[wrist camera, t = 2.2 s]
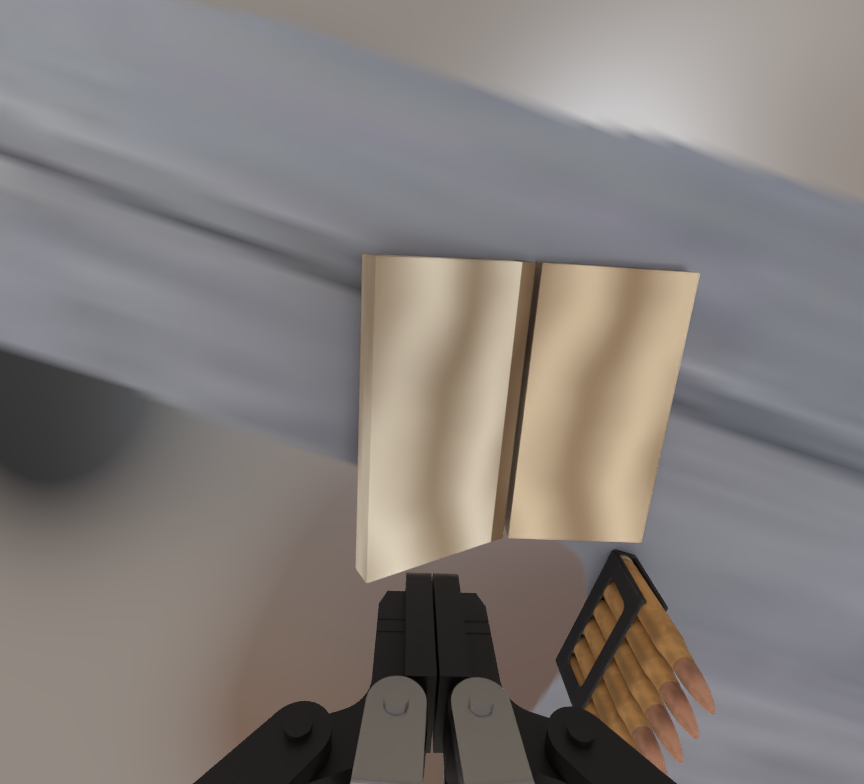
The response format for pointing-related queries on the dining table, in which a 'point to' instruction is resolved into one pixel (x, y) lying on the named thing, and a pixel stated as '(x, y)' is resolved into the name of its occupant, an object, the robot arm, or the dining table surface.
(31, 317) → the dining table surface
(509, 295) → the birch plank
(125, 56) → the dining table surface
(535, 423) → the oak board
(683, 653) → the ammunition clip
